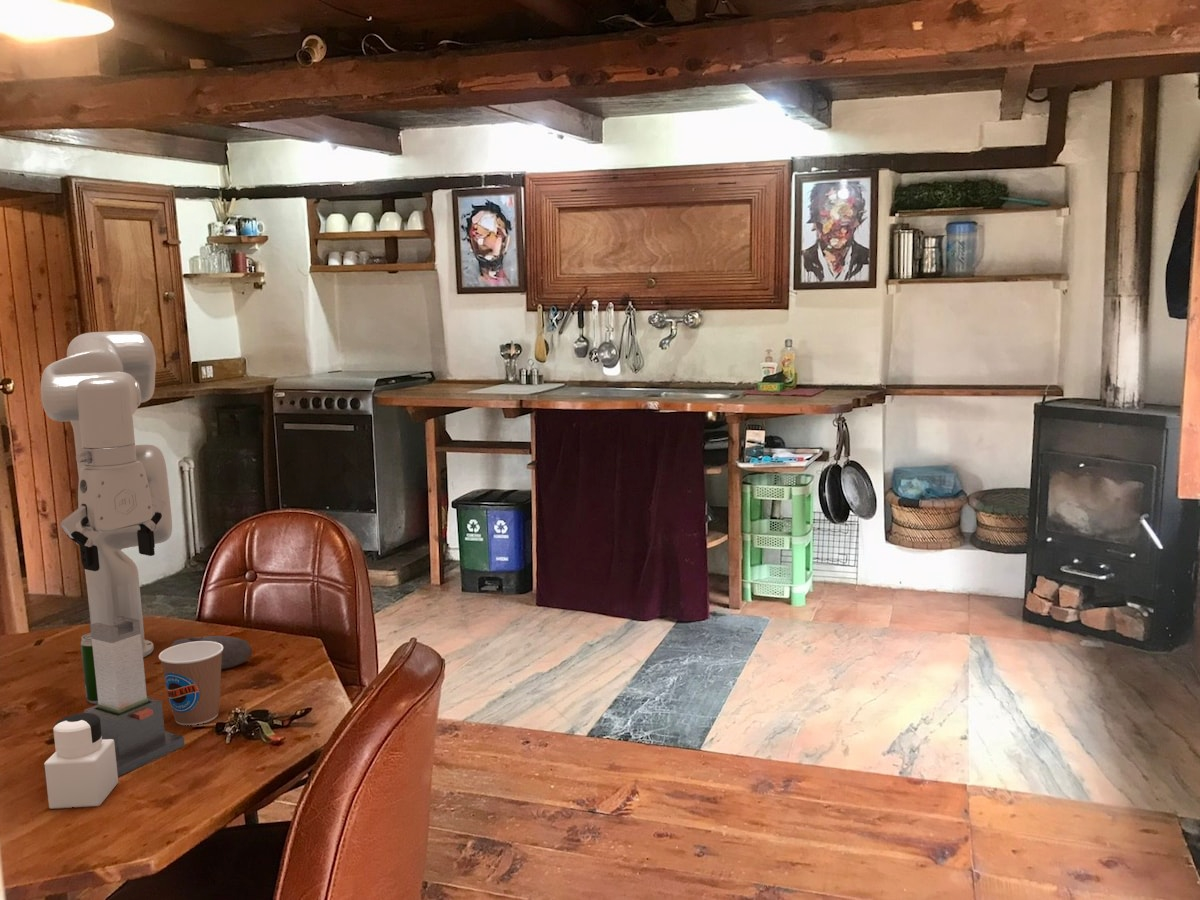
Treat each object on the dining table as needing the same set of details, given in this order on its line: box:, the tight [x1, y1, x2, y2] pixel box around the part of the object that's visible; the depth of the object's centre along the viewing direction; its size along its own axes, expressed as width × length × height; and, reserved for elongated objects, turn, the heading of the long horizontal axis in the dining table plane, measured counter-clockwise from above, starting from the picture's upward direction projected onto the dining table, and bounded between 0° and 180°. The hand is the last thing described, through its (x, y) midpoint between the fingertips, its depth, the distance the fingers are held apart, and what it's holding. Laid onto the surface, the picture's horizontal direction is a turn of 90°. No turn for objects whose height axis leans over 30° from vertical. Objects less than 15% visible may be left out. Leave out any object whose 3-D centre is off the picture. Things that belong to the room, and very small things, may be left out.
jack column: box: [89, 616, 148, 716], centre depth 159 cm, size 5×5×15 cm
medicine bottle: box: [43, 712, 119, 810], centre depth 146 cm, size 7×7×12 cm
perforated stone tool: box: [170, 635, 253, 670], centre depth 196 cm, size 15×5×7 cm, turn 112°
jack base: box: [83, 696, 186, 778], centre depth 160 cm, size 12×12×8 cm
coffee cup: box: [158, 641, 223, 727], centre depth 173 cm, size 10×10×12 cm
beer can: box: [80, 632, 98, 705], centre depth 182 cm, size 5×5×12 cm
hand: (120, 562), depth 161 cm, fingers open, 9 cm apart
